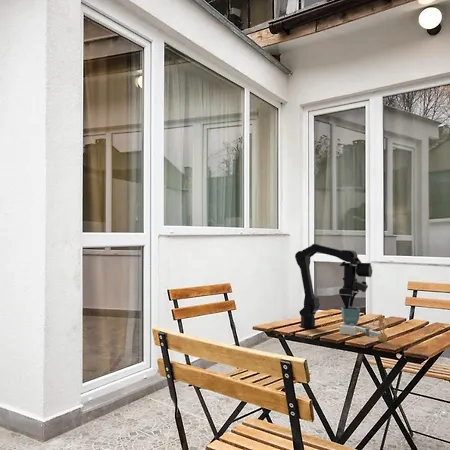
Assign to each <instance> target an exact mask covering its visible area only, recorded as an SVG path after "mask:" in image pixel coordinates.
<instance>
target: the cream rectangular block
mask: <svg viewBox="0 0 450 450" xmlns="http://www.w3.org/2000/svg"><path fill="white" fill-rule="evenodd" d="M356 326H357V325H356ZM356 326H350V325H345V324H339V334H340V335H345V334H349V335H348V336H353V335H354V336H355V334H356V335H357V331H356Z"/></svg>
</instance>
